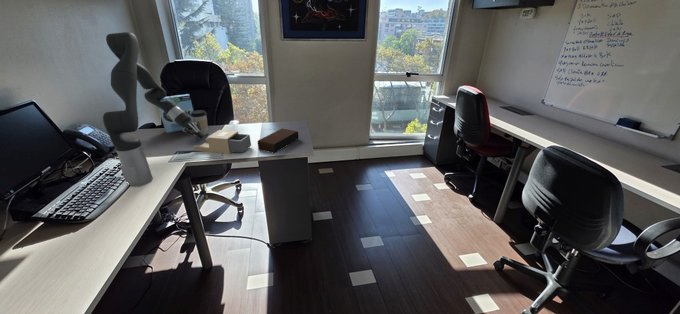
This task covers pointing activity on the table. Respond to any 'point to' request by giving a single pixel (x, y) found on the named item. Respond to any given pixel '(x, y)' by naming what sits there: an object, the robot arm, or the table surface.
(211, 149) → the mailer sleeve
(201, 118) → the coffee cup
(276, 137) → the brown brick
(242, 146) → the tray
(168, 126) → the gum box
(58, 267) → the table surface
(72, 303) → the table surface
